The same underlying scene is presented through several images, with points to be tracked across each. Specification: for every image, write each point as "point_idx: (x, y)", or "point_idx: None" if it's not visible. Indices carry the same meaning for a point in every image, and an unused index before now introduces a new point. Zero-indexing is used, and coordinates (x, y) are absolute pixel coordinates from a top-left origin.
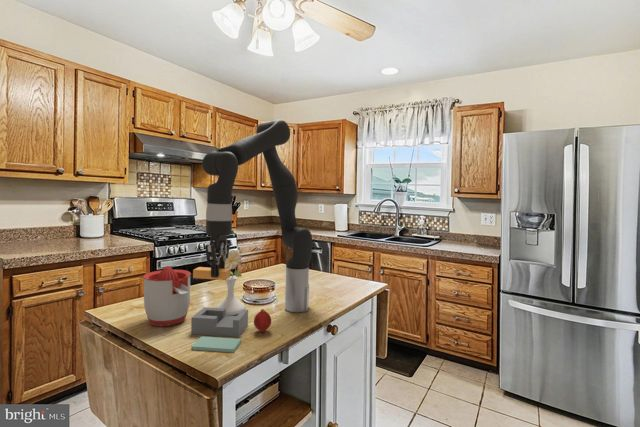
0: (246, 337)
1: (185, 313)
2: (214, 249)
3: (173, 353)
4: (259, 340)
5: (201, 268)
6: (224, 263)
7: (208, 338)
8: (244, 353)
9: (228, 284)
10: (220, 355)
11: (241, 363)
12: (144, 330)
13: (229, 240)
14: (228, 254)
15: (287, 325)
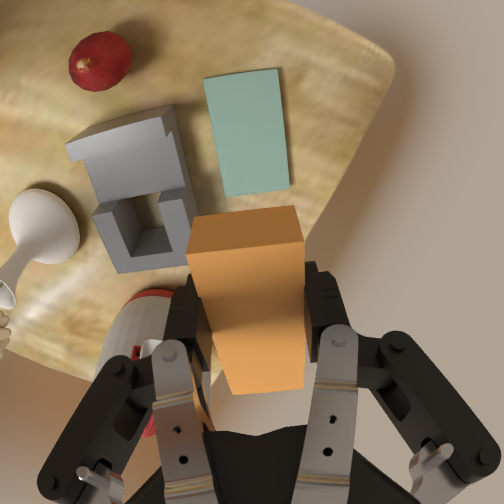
0: (168, 80)
1: (145, 298)
2: (471, 440)
3: (315, 212)
4: (175, 34)
5: (261, 379)
6: (185, 328)
7: (232, 172)
8: (273, 38)
9: (16, 280)
10: (301, 97)
11: (330, 27)
12: None
13: (54, 496)
14: (95, 380)
15: (48, 21)
